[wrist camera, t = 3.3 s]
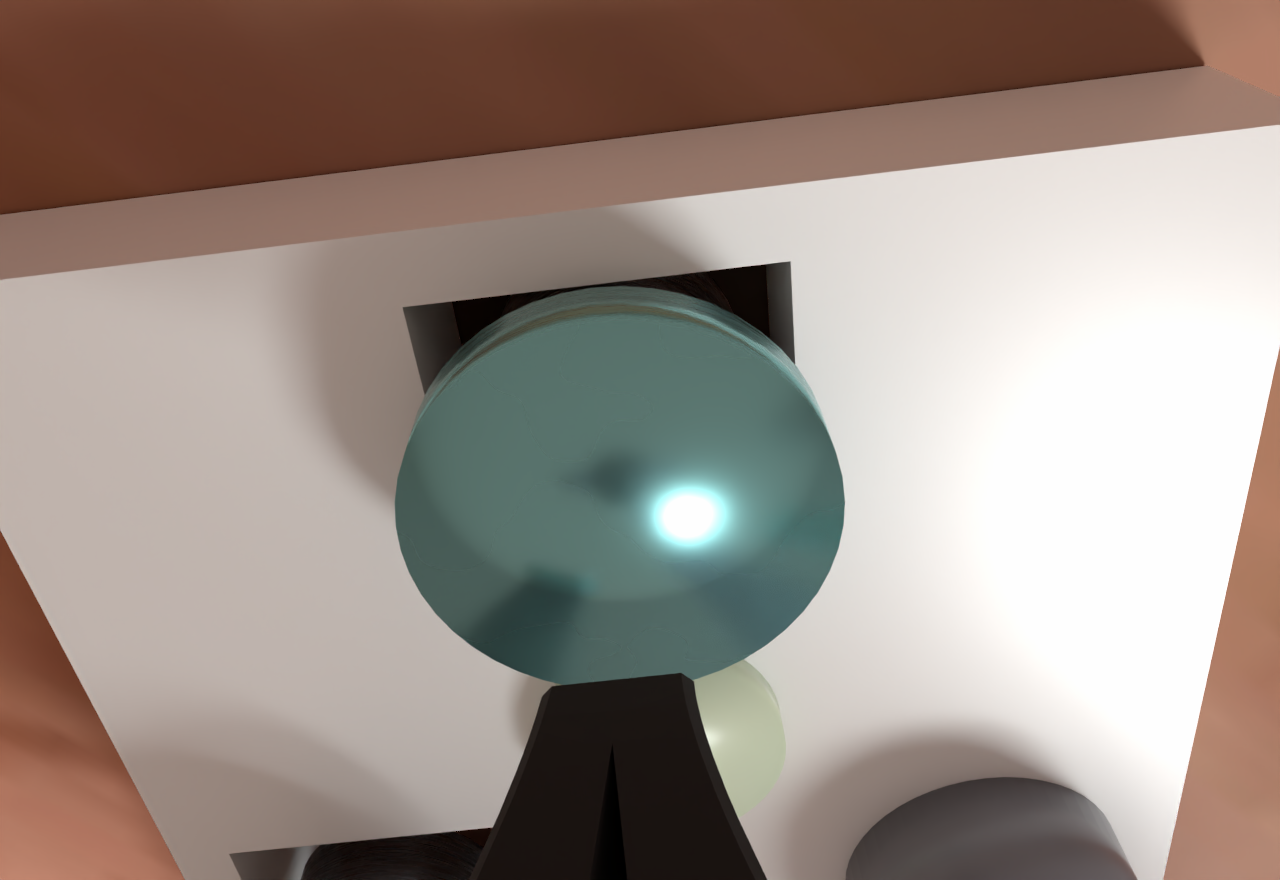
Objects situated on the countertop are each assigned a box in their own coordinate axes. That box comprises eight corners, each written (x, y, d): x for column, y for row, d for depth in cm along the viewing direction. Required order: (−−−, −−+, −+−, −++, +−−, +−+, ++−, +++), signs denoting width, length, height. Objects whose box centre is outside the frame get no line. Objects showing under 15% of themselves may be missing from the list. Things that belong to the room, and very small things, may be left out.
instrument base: (1082, 867, 24) (1182, 1093, 20) (319, 941, 25) (259, 1175, 21) (1207, 65, 15) (1442, 167, 11) (-6, 215, 16) (-233, 367, 12)
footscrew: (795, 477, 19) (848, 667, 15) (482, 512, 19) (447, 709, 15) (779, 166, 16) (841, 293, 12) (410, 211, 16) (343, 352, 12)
